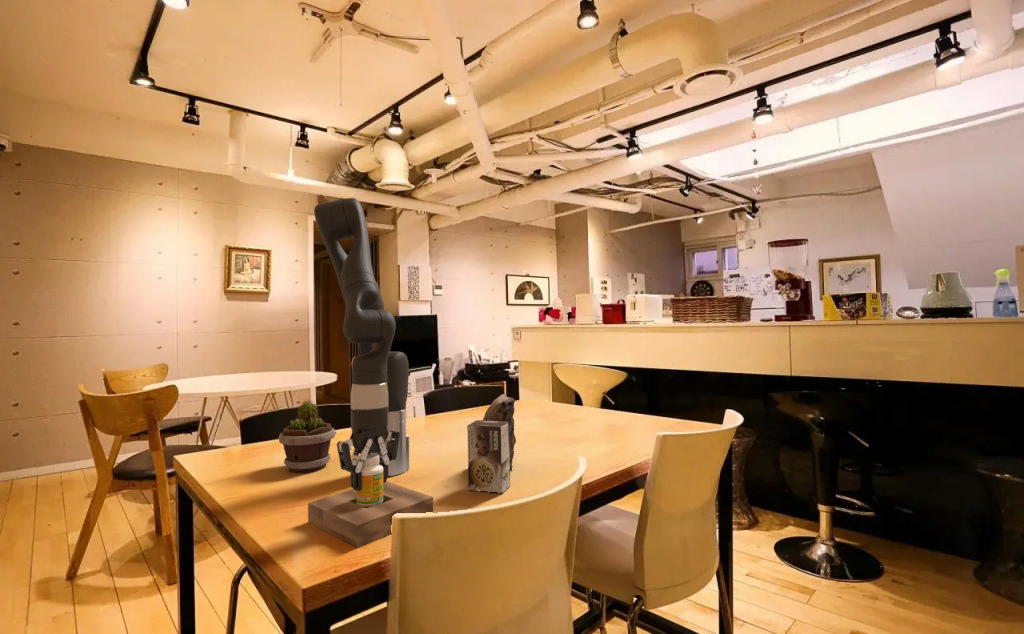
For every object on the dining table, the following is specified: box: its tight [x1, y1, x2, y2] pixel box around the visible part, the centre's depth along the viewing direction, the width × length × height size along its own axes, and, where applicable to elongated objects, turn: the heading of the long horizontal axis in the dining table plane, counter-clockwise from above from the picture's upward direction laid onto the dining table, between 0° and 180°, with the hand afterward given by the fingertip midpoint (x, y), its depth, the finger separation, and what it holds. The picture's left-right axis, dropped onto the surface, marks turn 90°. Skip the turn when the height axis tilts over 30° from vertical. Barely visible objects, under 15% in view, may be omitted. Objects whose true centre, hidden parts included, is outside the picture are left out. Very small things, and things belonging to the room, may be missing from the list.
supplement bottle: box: [356, 453, 383, 507], centre depth 98 cm, size 5×5×10 cm
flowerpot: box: [277, 399, 337, 473], centre depth 135 cm, size 14×15×20 cm
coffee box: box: [466, 419, 511, 494], centre depth 116 cm, size 9×6×16 cm
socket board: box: [307, 481, 434, 548], centre depth 98 cm, size 18×18×4 cm
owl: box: [482, 393, 517, 472], centre depth 133 cm, size 13×13×20 cm
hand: (369, 485), depth 98 cm, fingers closed on supplement bottle, 5 cm apart
